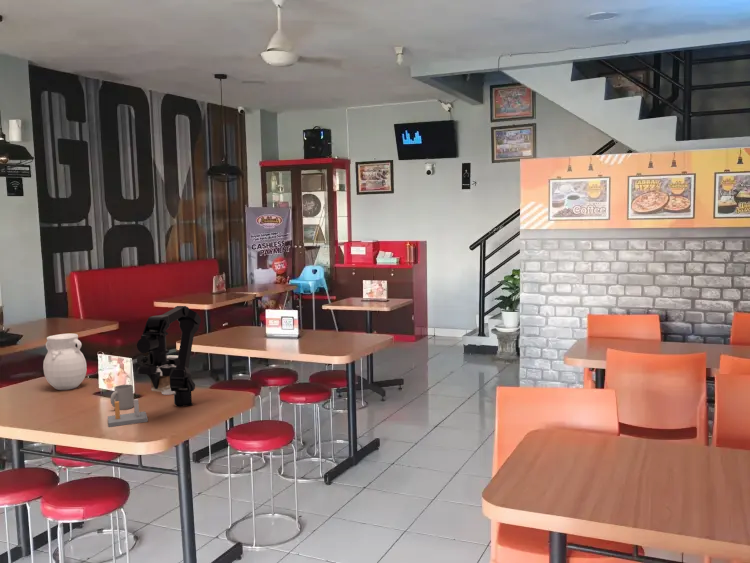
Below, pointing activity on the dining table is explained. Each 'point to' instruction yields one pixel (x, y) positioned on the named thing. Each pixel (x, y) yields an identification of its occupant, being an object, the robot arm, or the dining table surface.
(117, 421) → the pin board
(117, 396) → the cup
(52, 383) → the white handled vase
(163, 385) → the sleeve
